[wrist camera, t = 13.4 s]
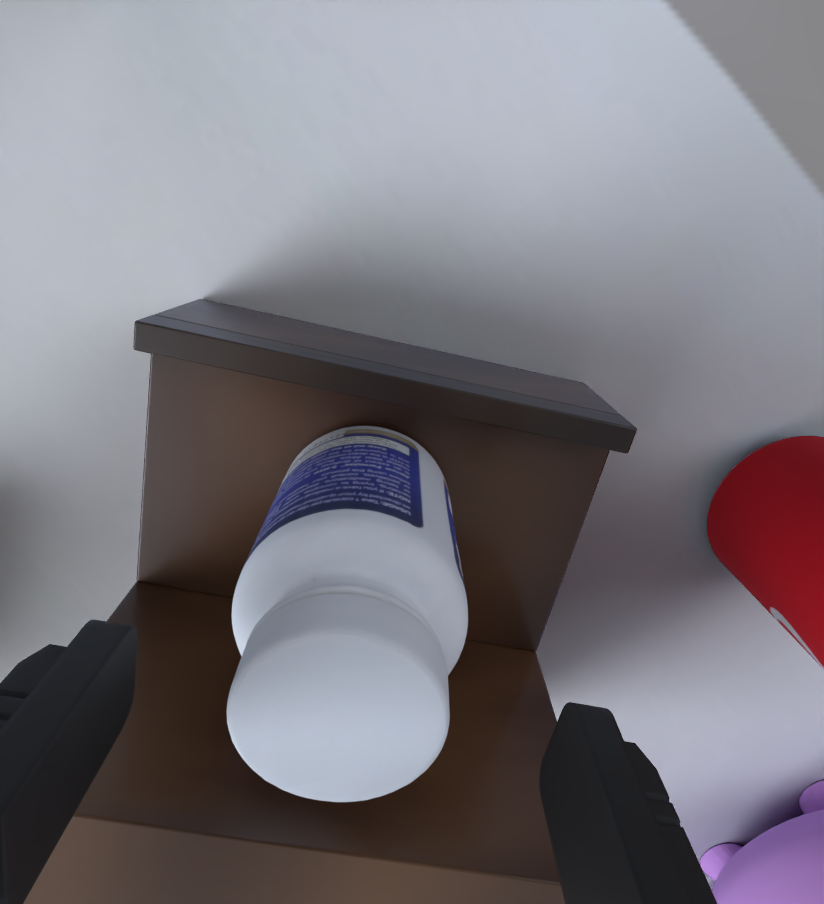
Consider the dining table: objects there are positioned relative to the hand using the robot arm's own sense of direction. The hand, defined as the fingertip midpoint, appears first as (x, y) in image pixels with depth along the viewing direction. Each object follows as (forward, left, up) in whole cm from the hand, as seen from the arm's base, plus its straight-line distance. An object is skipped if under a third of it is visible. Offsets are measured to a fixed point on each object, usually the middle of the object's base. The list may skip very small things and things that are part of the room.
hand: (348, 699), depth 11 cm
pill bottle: (0, 0, -9) cm, 9 cm away
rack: (0, +4, -12) cm, 13 cm away
